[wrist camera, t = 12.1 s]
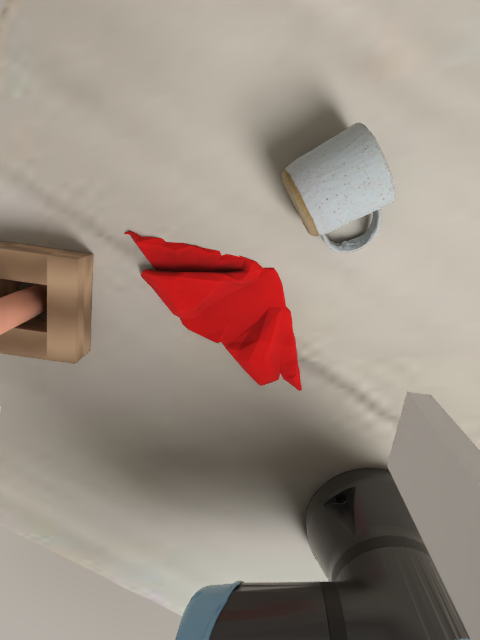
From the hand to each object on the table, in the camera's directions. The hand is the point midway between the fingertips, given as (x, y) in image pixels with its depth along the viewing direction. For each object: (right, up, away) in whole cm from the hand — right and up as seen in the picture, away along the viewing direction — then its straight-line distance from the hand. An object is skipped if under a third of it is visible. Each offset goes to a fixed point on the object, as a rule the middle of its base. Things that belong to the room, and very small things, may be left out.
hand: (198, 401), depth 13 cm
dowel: (-20, +5, +32) cm, 39 cm away
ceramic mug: (+11, +15, +29) cm, 34 cm away
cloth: (0, +4, +33) cm, 33 cm away
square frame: (-20, +5, +32) cm, 39 cm away
